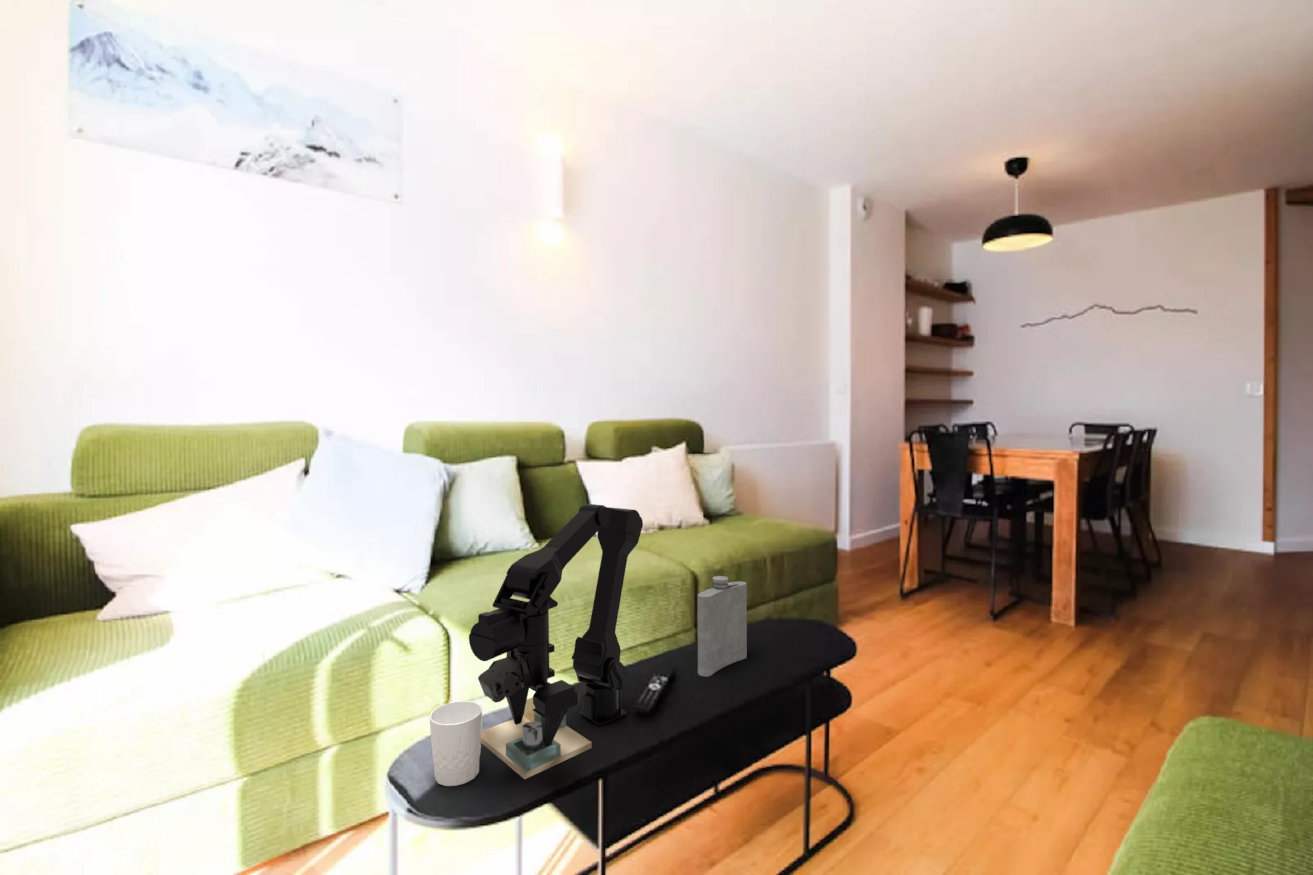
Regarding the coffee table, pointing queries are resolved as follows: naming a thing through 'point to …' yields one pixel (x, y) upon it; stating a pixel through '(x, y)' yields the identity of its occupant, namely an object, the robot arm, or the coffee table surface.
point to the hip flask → (722, 625)
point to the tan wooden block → (529, 709)
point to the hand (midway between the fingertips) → (532, 734)
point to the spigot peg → (532, 737)
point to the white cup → (456, 741)
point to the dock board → (509, 749)
